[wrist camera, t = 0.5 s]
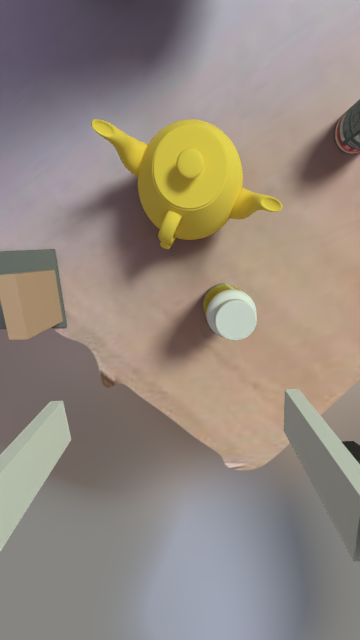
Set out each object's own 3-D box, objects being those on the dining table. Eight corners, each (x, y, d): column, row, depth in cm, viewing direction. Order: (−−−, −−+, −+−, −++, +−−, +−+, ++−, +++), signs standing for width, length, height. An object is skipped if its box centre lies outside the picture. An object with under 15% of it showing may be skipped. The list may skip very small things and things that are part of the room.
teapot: (103, 222, 36) (66, 208, 25) (138, 110, 33) (113, 36, 22) (229, 276, 38) (246, 284, 27) (276, 174, 34) (318, 134, 23)
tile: (38, 270, 38) (-7, 275, 29) (54, 269, 38) (14, 274, 29) (47, 321, 40) (8, 340, 31) (63, 321, 40) (27, 339, 31)
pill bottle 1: (200, 320, 40) (204, 344, 29) (204, 281, 38) (211, 291, 27) (239, 324, 40) (258, 349, 29) (245, 284, 38) (268, 296, 27)
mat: (-23, 252, 38) (-25, 252, 38) (54, 249, 38) (53, 249, 37) (-5, 328, 41) (-7, 329, 41) (67, 326, 41) (65, 327, 40)
